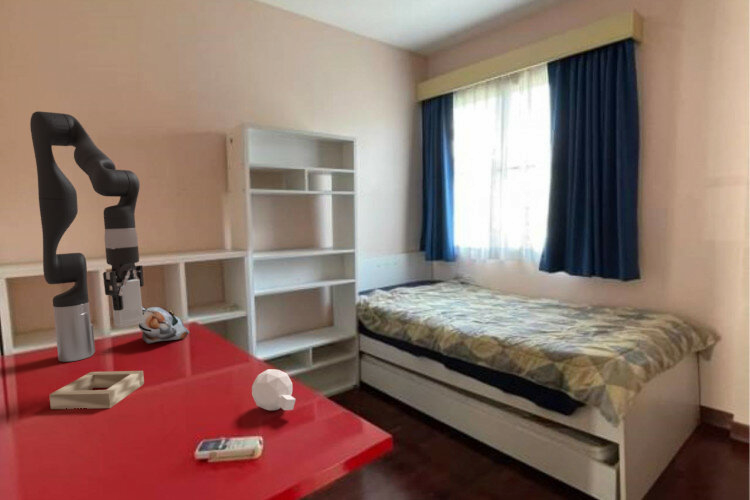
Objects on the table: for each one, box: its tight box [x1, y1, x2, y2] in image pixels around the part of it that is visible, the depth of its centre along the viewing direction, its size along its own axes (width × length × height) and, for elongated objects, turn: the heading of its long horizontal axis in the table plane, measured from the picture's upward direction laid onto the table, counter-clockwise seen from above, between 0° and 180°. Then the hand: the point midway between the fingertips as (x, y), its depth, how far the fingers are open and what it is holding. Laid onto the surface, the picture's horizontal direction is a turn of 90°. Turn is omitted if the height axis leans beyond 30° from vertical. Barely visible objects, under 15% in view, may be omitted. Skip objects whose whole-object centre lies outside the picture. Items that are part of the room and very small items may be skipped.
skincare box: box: [109, 278, 143, 329], centre depth 115 cm, size 6×4×12 cm
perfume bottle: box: [251, 368, 297, 411], centre depth 95 cm, size 9×9×12 cm
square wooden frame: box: [49, 370, 145, 410], centre depth 106 cm, size 14×14×4 cm
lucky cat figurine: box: [138, 306, 190, 345], centre depth 151 cm, size 17×14×16 cm
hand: (127, 306), depth 115 cm, fingers closed on skincare box, 7 cm apart
